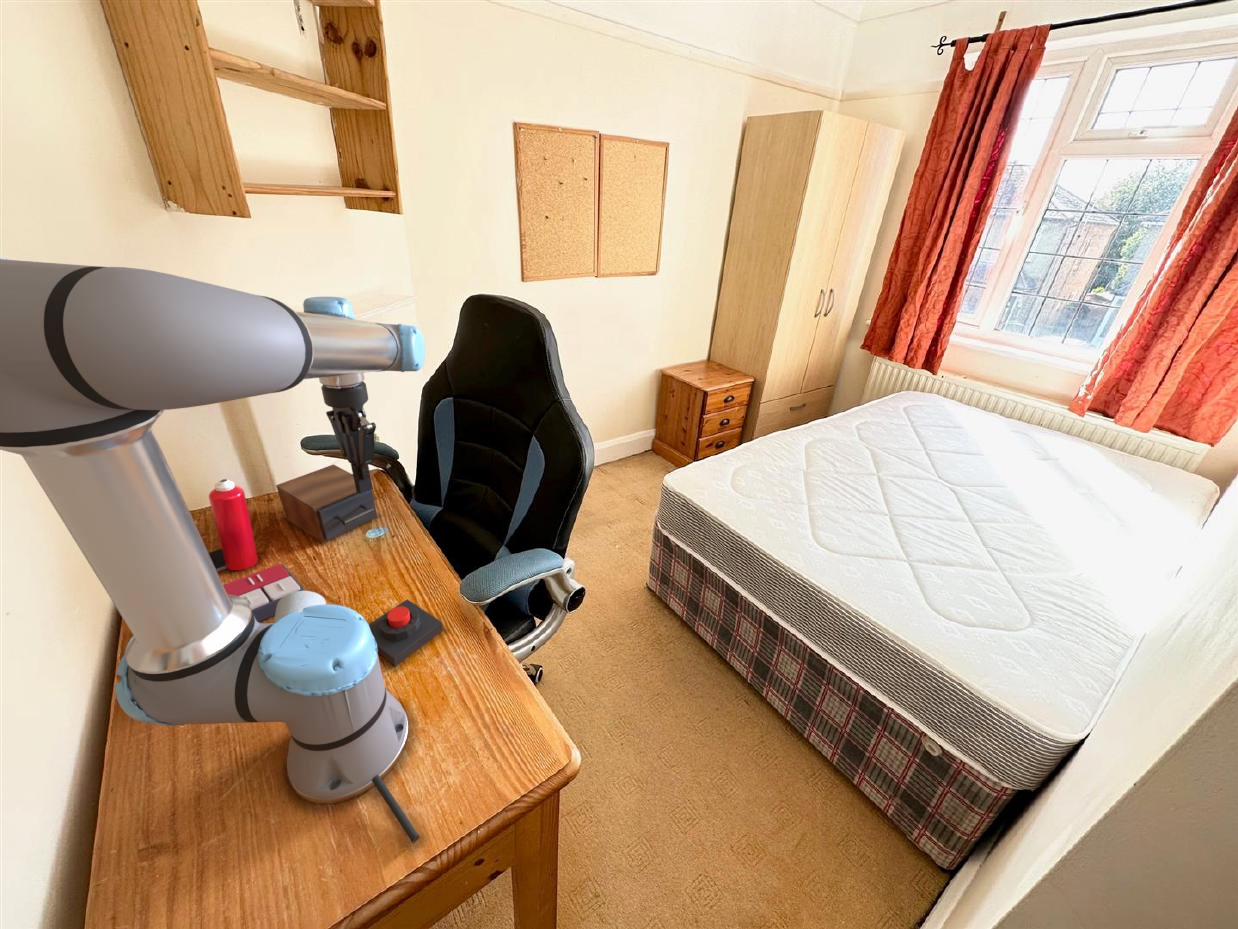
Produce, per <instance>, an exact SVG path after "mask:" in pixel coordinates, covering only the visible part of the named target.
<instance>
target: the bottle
mask: <svg viewBox="0 0 1238 929" xmlns="http://www.w3.org/2000/svg"><path fill="white" fill-rule="evenodd" d="M208 501H209V504H210V507H211V512H212V515H213V519H214V523H215V528H216V532H217V535H218V539H219V543H220V547H221V548H220V549H222V551H223V555H224V559H225V563H226V567H227V569H228V570H230V571H243V570H247V569H250V568H252V567H254V566H255V565H257V563H258V562H259V554H258V550H257V546H256V541H255V536H254V531H253V526H252V523H251V522H252V521H251V518H250V512H249V508H248V503H247V499H246V494H245V490H244V489H243V487H241V486H239V485H235V482H234V481H232V480H229V479H228V478H221V479H219V480H218V481H217V482H216V483H215V484H214V489H212V490H211V491H210V492H209V493H208Z"/></svg>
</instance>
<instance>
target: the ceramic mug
mask: <svg viewBox="0 0 1238 929" xmlns="http://www.w3.org/2000/svg"><path fill="white" fill-rule="evenodd" d="M324 604H327V601H326V599H325V598H324V596H323V595H321V594H319V593H318V592H315V591H310V590H304V591H296V592H292V593H290V594H287V595H285V596H284V597H283V598H281V599H280V601H279V602H278V604H277V607H276V612H275V615H274V618H273V623H275V622H277V621H278V620H279V619H281V618H282V617H284V616H286V615H288V614H289V613H292V612H294V611H295V612H297V613H301V612H303V609H304V608H306V607H309V606H314V605H324Z"/></svg>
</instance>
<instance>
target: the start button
mask: <svg viewBox="0 0 1238 929" xmlns="http://www.w3.org/2000/svg"><path fill="white" fill-rule="evenodd" d="M395 607H396V606H395ZM395 607H393V608H394V609H393V608H391V609H392V610H391V609H390V610H391V611H390V610H389V611H390V612H389V613H388V615H387V618H388V623H389V626H390V627H392V628H401V627H404V626H406V625H407V624H408V623H409V622H410V613H409V610H408V608H406V607H396V608H395Z"/></svg>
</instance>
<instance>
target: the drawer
mask: <svg viewBox="0 0 1238 929" xmlns="http://www.w3.org/2000/svg"><path fill="white" fill-rule="evenodd" d="M374 498H375V497H374V493H373V489H372V490H369V491H367V492H365V493H362V494H360V493H358V492H357V493H354V494H352V495H350V496H347V497H345V498H343V499H340V500H338V501H336V502H333V503H331V504H329V505H326V506H324V507H322V508H319V509H317V513H318V517H319V520H320V524H321V528H322V531H323V535H324V539H326V540H328V541H330V540H332V539H334V538H336V537H338V536H340V535H343V534H345V533H347V532H349V531H350V529H351V530H353V529H355V528H356V526H357V527H359V526H361V525H363V524H365V523H368V522H369V521H371V520H373V518H374V519H376V518H377V517H378V513H377V508H376V502H375V499H374ZM375 517H376V518H375ZM354 527H355V528H354ZM352 528H353V529H352ZM348 530H349V531H348ZM346 531H347V532H346ZM344 532H345V533H344ZM329 539H330V540H329Z"/></svg>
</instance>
